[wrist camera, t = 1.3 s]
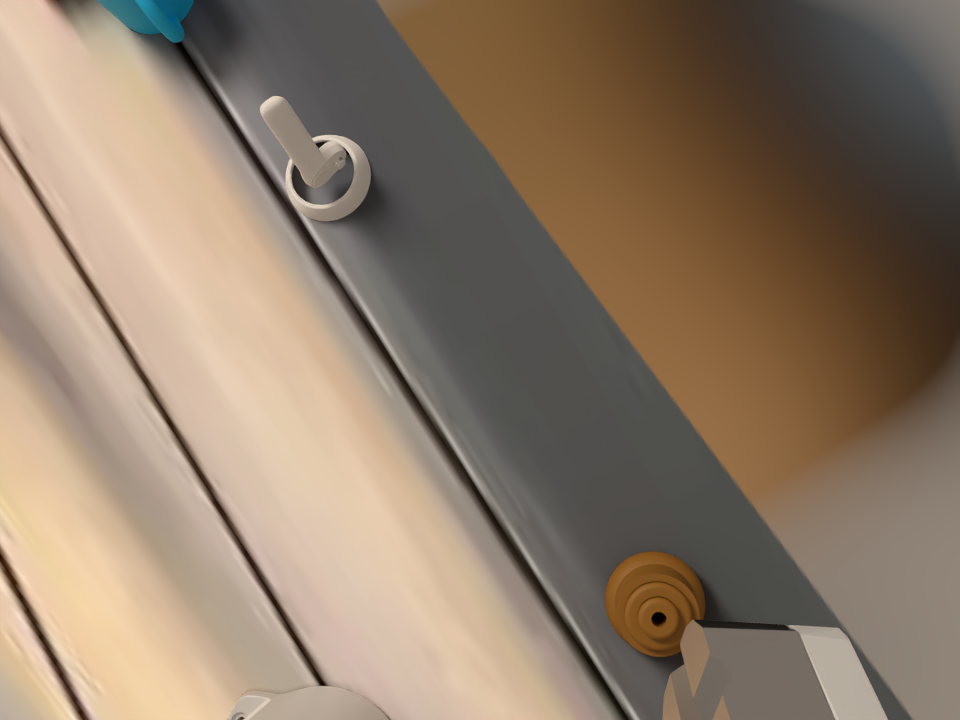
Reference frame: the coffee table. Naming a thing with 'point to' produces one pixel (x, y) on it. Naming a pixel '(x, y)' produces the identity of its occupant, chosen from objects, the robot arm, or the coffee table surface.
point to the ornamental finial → (653, 602)
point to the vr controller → (316, 161)
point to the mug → (151, 15)
